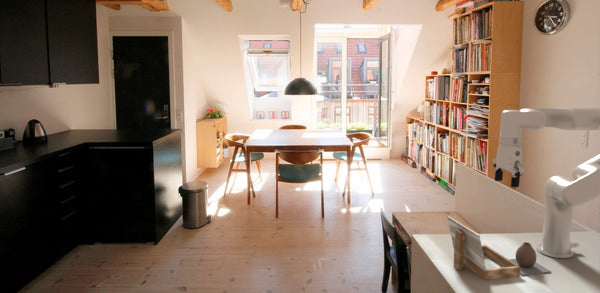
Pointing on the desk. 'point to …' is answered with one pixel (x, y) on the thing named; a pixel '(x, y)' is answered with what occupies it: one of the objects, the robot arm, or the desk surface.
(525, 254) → the vase
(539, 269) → the mat
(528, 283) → the desk surface
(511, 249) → the desk surface
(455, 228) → the frame
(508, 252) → the desk surface
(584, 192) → the robot arm
